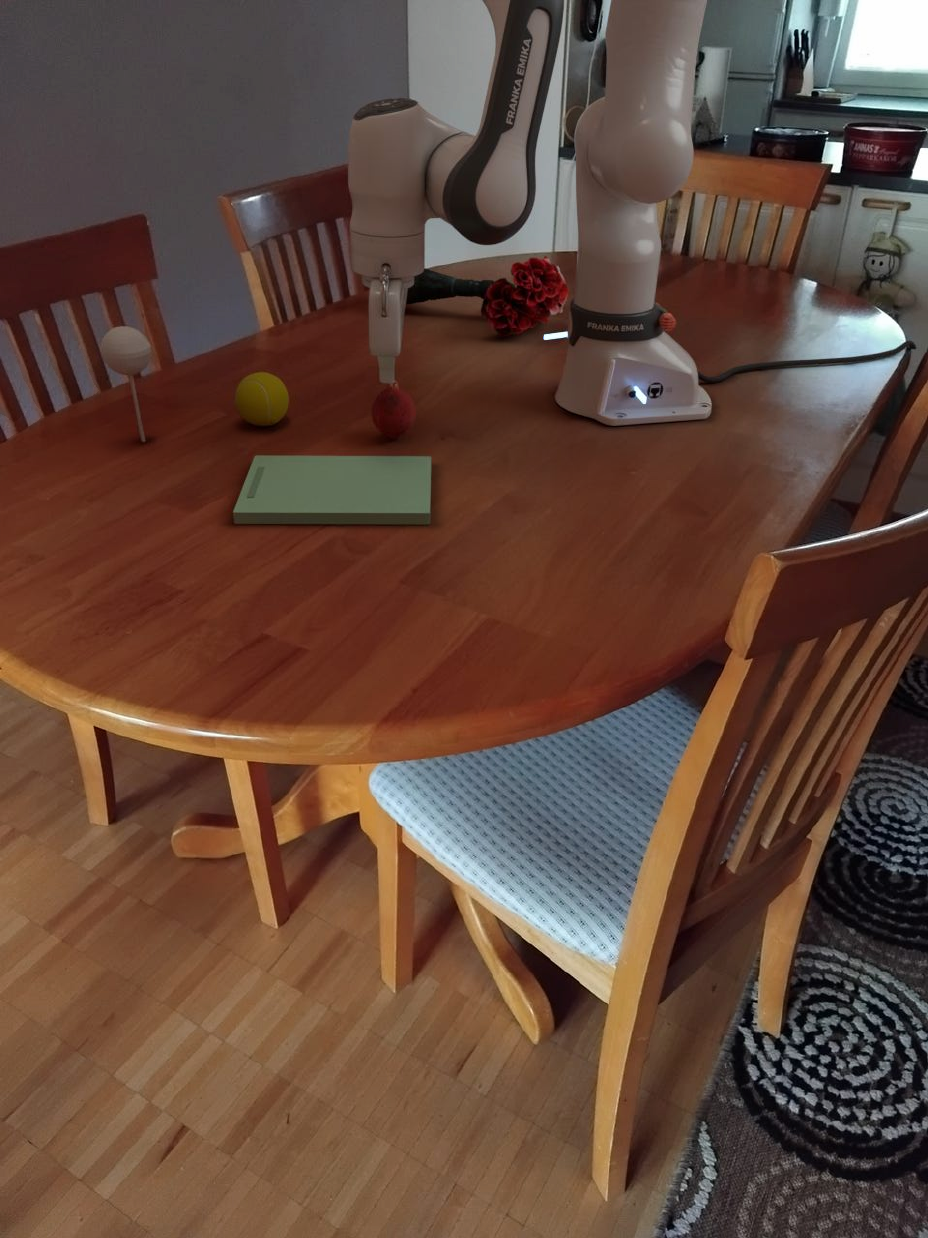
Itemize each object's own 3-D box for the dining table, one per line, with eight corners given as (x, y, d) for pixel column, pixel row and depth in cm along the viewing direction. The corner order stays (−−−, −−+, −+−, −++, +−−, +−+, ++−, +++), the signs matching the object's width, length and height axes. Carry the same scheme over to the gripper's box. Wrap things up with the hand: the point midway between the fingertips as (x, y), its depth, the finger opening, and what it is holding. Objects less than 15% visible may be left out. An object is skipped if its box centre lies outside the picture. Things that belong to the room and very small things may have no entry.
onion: (410, 450, 122) (408, 391, 118) (367, 446, 123) (364, 387, 119) (420, 432, 127) (419, 375, 122) (379, 428, 128) (377, 371, 123)
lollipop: (176, 435, 125) (157, 323, 116) (150, 453, 120) (128, 337, 112) (136, 429, 127) (115, 317, 118) (109, 446, 122) (85, 331, 113)
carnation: (387, 350, 177) (566, 365, 166) (347, 305, 160) (544, 318, 149) (404, 272, 179) (583, 281, 168) (366, 219, 161) (563, 225, 150)
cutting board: (431, 467, 118) (431, 455, 117) (430, 524, 106) (429, 512, 105) (256, 466, 118) (254, 454, 117) (234, 524, 105) (232, 511, 104)
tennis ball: (274, 437, 125) (269, 386, 121) (229, 429, 127) (222, 379, 123) (299, 418, 130) (295, 369, 126) (255, 410, 132) (250, 362, 128)
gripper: (412, 278, 103) (411, 398, 111) (416, 236, 120) (415, 343, 128) (354, 276, 103) (358, 397, 111) (366, 234, 120) (368, 341, 127)
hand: (388, 367), depth 119 cm, fingers open, 8 cm apart
